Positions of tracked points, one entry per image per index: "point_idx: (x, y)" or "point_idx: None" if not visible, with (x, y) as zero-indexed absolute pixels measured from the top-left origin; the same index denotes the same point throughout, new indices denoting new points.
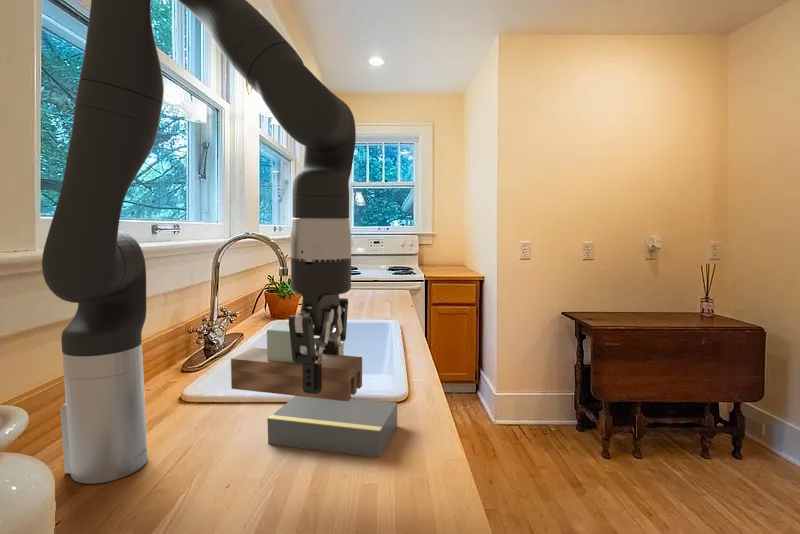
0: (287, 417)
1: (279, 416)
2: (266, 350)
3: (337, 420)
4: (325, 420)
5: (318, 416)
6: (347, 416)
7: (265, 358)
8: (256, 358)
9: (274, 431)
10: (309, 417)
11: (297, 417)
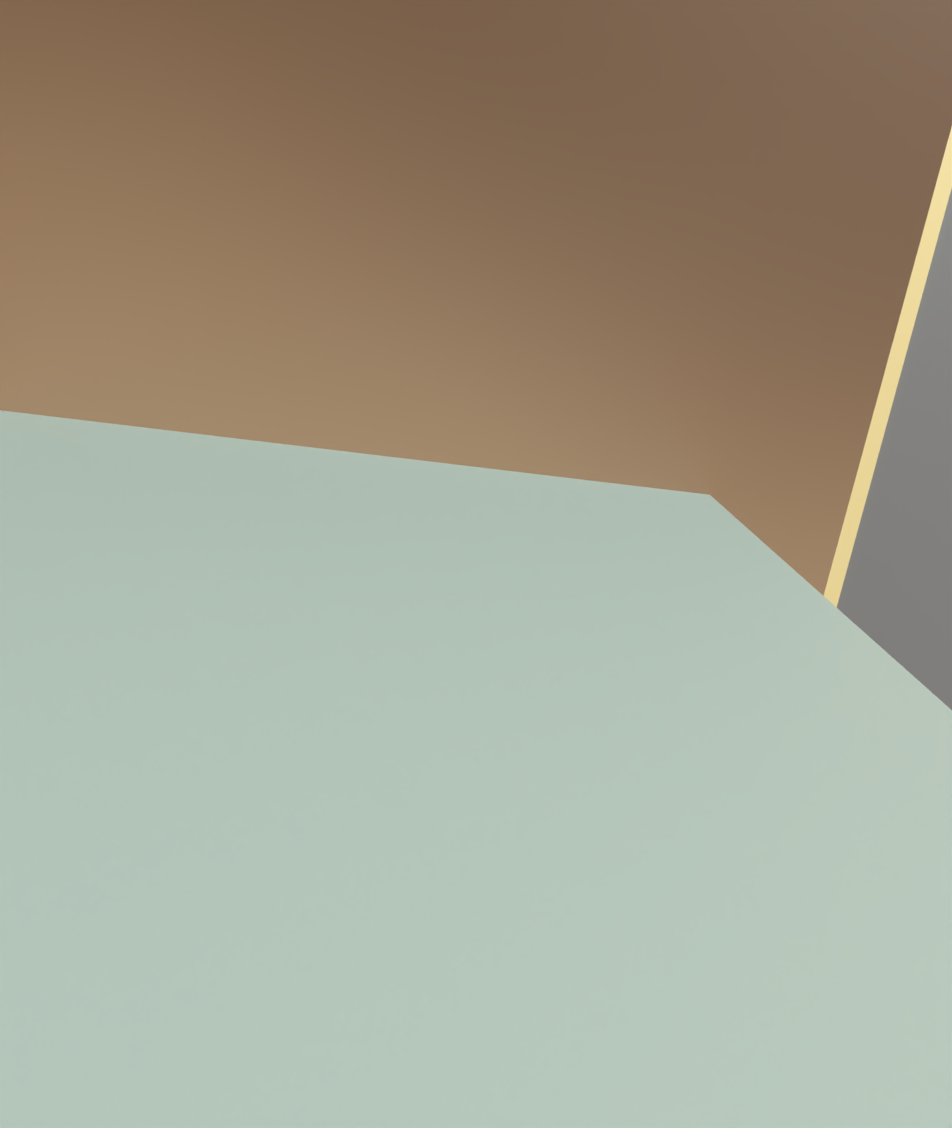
0: (921, 240)
1: (942, 164)
2: (817, 15)
3: (870, 617)
4: (869, 540)
5: (943, 472)
6: (931, 667)
7: (91, 307)
8: (30, 51)
9: None
10: (927, 411)
11: (929, 318)
